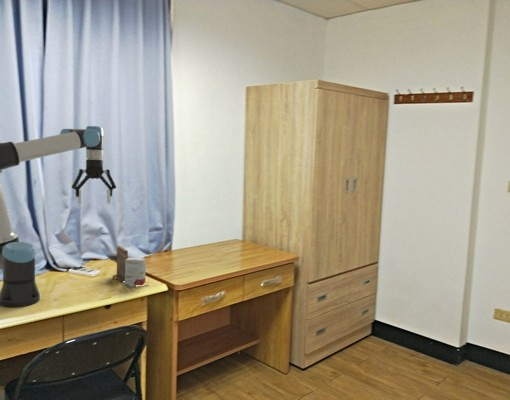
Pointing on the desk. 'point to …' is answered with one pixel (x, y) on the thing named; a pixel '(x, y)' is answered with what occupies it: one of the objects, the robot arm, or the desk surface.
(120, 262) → the screen
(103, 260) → the desk surface
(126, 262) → the ink box
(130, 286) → the mat
